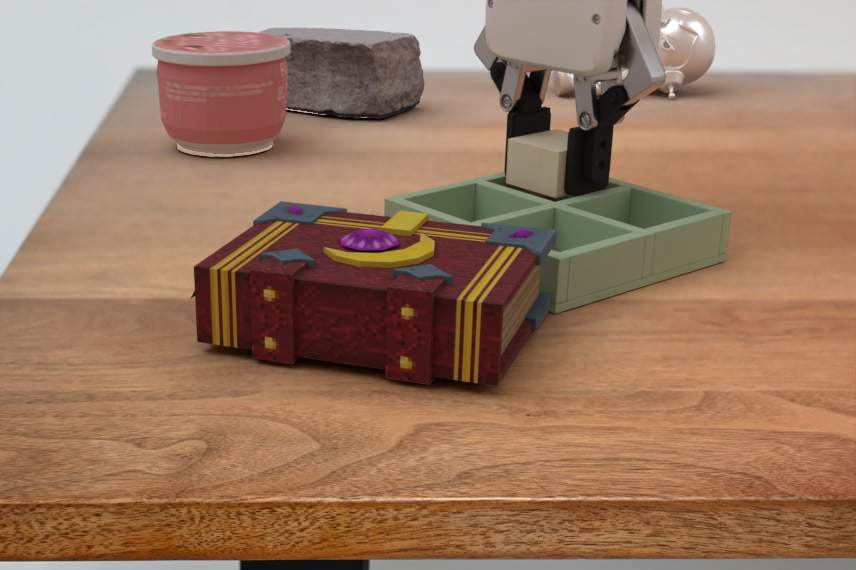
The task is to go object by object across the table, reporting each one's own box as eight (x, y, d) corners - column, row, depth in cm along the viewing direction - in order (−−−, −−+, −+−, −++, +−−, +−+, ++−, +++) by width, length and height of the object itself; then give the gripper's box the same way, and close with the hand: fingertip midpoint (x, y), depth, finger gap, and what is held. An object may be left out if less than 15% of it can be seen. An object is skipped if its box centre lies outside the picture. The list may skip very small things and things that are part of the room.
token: (553, 172, 79) (556, 128, 78) (604, 186, 76) (608, 141, 75) (505, 183, 77) (508, 138, 76) (555, 198, 74) (558, 151, 73)
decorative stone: (421, 126, 105) (425, 97, 114) (422, 43, 102) (426, 20, 111) (247, 125, 107) (265, 96, 116) (243, 43, 104) (262, 20, 113)
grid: (548, 206, 82) (551, 161, 81) (726, 261, 72) (732, 210, 71) (383, 246, 75) (384, 197, 74) (555, 314, 65) (559, 258, 63)
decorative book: (499, 399, 55) (505, 292, 53) (170, 350, 60) (164, 251, 58) (551, 312, 65) (557, 219, 63) (264, 276, 70) (262, 189, 68)
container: (214, 124, 105) (210, 27, 102) (318, 141, 99) (317, 38, 96) (129, 150, 97) (122, 45, 94) (237, 169, 91) (233, 58, 88)
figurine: (540, 1, 114) (703, -33, 114) (535, 49, 121) (689, 17, 120) (570, 98, 110) (739, 63, 110) (563, 142, 117) (722, 109, 117)
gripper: (748, -139, 65) (708, 202, 72) (517, -144, 78) (502, 147, 85) (653, -134, 61) (620, 226, 68) (425, -141, 74) (418, 165, 81)
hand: (555, 179), depth 76 cm, fingers closed on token, 4 cm apart
